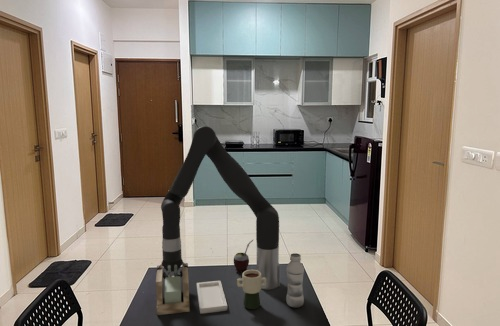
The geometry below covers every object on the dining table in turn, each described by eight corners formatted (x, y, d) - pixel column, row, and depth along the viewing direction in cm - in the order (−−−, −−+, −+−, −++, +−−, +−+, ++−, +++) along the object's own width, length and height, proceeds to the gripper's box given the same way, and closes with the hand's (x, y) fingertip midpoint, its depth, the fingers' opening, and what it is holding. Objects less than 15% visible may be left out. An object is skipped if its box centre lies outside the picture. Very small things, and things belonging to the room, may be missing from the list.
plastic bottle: (303, 311, 132) (304, 259, 129) (285, 309, 133) (285, 258, 130) (304, 301, 138) (305, 252, 135) (286, 300, 139) (287, 251, 136)
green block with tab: (180, 286, 151) (180, 270, 150) (181, 308, 134) (180, 290, 133) (166, 288, 149) (165, 272, 148) (165, 310, 133) (164, 292, 132)
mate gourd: (230, 271, 164) (230, 240, 162) (242, 266, 170) (241, 235, 168) (242, 276, 159) (242, 244, 157) (254, 270, 165) (254, 239, 163)
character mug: (265, 300, 139) (265, 269, 137) (267, 310, 132) (267, 277, 130) (237, 301, 138) (236, 269, 137) (237, 311, 131) (237, 278, 130)
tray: (220, 284, 152) (220, 280, 151) (227, 310, 132) (227, 305, 132) (196, 287, 150) (196, 282, 149) (200, 313, 130) (200, 308, 130)
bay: (188, 295, 143) (187, 267, 141) (189, 311, 132) (188, 280, 130) (158, 298, 141) (157, 269, 139) (157, 315, 130) (155, 284, 128)
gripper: (188, 242, 151) (189, 281, 154) (155, 245, 148) (156, 284, 151) (189, 249, 144) (190, 290, 146) (154, 252, 141) (156, 293, 144)
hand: (173, 287), depth 149 cm, fingers closed on green block with tab, 1 cm apart
